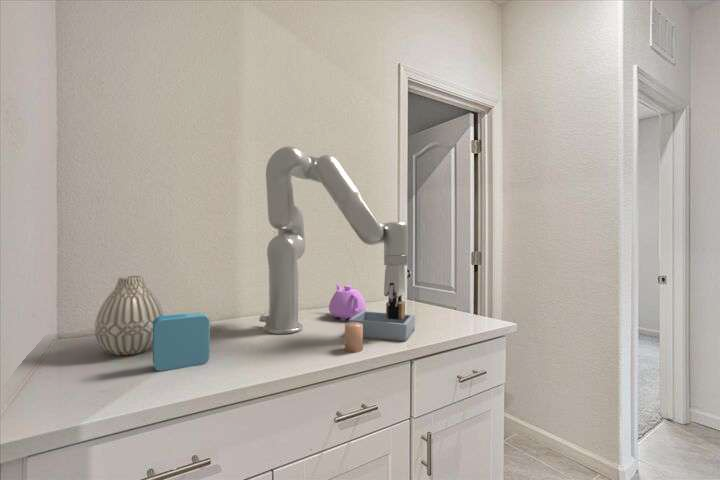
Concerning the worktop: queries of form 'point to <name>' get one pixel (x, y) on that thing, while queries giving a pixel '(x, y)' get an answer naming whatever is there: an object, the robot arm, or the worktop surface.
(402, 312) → the wood cube
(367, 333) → the tote
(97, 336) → the vase
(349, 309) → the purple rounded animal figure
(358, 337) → the terracotta canister
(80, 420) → the worktop surface
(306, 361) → the worktop surface
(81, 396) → the worktop surface
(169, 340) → the data package
